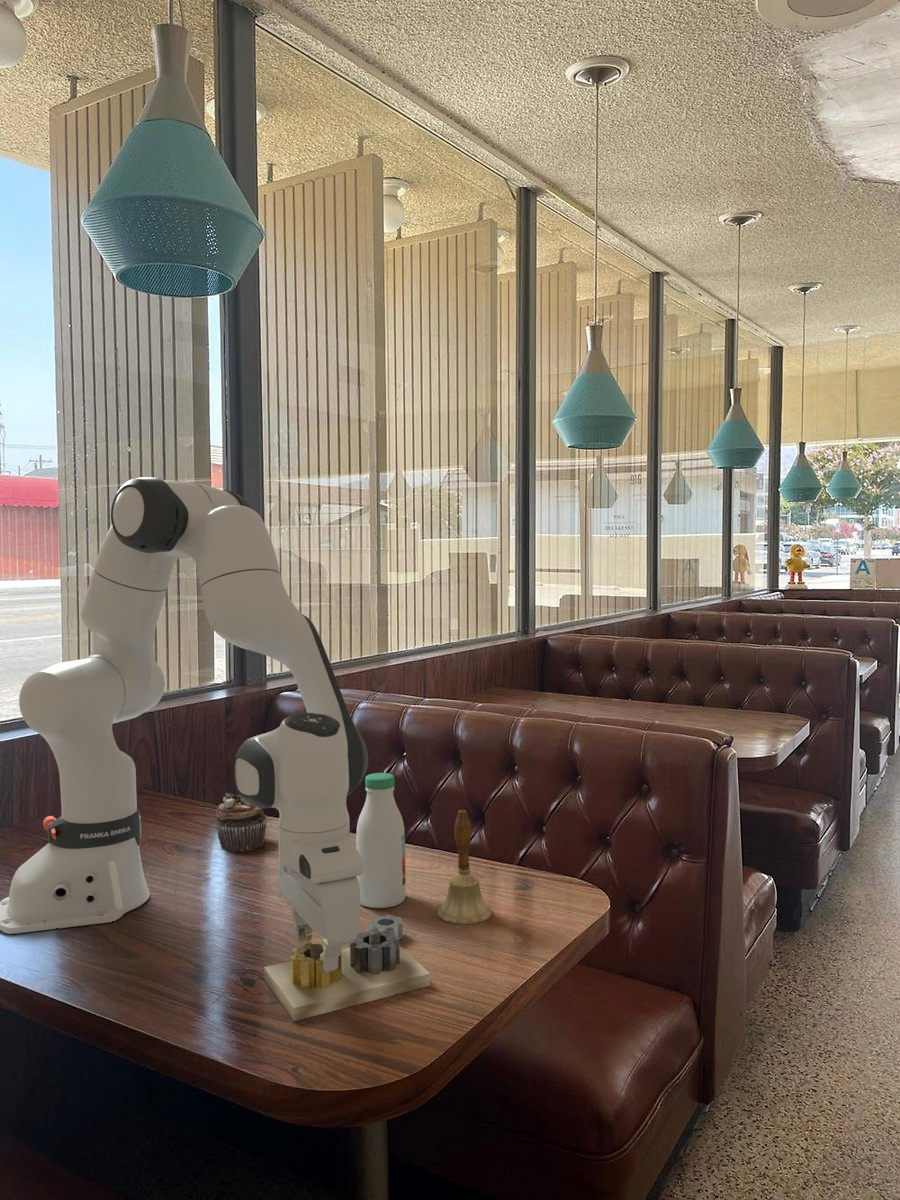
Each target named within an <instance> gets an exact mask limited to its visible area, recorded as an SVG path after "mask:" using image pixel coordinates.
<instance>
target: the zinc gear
mask: <svg viewBox="0 0 900 1200" xmlns="http://www.w3.org/2000/svg"><path fill="white" fill-rule="evenodd" d="M392 915H393V914H386V915H385V916H379V915H378V916H374V917H373V919H372V920H371V919H370V920H368V922H367V932H368V931H371V929H378V931H381V932H382V931H385V932H386V931H388V930H390V931H392V932H394V935H395V937H398V936H399V940H403V939H404V935H405V934H404V932H405V931H404V930H405V929H404V928H405V927H404V926H405V925H404V923H405V922H404V921H402V920H403V919H402V918H401V917H400V916H397V917H396V916H392Z"/></svg>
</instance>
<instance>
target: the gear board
mask: <svg viewBox="0 0 900 1200" xmlns="http://www.w3.org/2000/svg"><path fill="white" fill-rule="evenodd" d="M369 944H380V932H378V931H372V932H370V933H369ZM310 948H311V958H319V957H320V953H322V945H320V944H318V943H316V944H314V943H313V945H311V947H310ZM341 958H342V973H341V980H340V981H339V982H333V983H330V984H329V987H327V988H323V989H321V988H320V987H316V986H315V987H314V988H312V987H311V988H310V989H309V990H308V989H302V988H301V985H299V984H295V985H293V984H292V983H291V969H290V961H285V962H281V963H275V964H272V965H268V966H264V967H263V978H264V981H265V982H266V984H267V985H268V986H269V988H270V990H271V991H272V992H273V994H274V995H275V997H276V998H277V1000H278V1001H279V1002H280V1004H281V1005H282V1006H283V1008H284V1009H285V1011H286V1013H287V1014H288V1015H289V1017H290V1018H291V1020H292V1021H293V1022H297V1021H300V1020H304V1019H308V1018H312V1017H315V1016H316V1017H317V1016H321V1015H323V1014H327V1013H331V1012H334V1011H339V1010H343V1009H347V1008H349V1007H355V1006H358V1005H361V1004H365V1003H369V1002H373V1001H376V1000H380V999H385V998H388V997H392V996H396V995H395V994H397V995H400V994H404V993H408V992H411V991H416V990H419V988H420V989H423V988H427V987H430V986H431V972H429V971H428V970H427V969H426V968H425V967H424V966H423V965H422V964H421V963H419V961H417V960H416V959H414V957H413V956H411V955H410V954H409V953H408V952H407V951H406V950H405V949H404V948H403V947H401V946H400V964H396V969H395V970H393V971H391V972H390V971H382V972H379V975H371V973H368V972H362V973H358V972H356V971H355V966H350V947H345V948H341Z"/></svg>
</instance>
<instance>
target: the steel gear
mask: <svg viewBox="0 0 900 1200" xmlns="http://www.w3.org/2000/svg"><path fill="white" fill-rule="evenodd" d="M372 931H378V929H371V931H368V930H367V931H364V932H362V931H359V934H358V936H357V938H356V940H355V942H353V943H350V944H349V948H350V966H355V971H356V972H358V973H362V972H368V973H371V975H379V972H382V971H390V972H391V971H393V970H395V969H396V964H400V947H401V945H400V939H399V936H398V937H395V935H394V932H392V931H390V930H388V931H386V932H385V931H382V932H381V931H378V932H380V944H369V933H370V932H372Z"/></svg>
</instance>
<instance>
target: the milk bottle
mask: <svg viewBox="0 0 900 1200" xmlns="http://www.w3.org/2000/svg"><path fill="white" fill-rule="evenodd" d="M395 781H396V780H395V775H393V774H392V773H388V772H375V773H370V774H368V775H366V776H365V780H364V783H365V791H366V797H365V802H364V805H363V807H362V810H361V812H360V814H359V817H358V820H357V825H356V839H355V841H356V842H355V844H356V845H355V847H356V849H357V851H358V852H359V854H360V856H361V857H362V860H363V874H362V875H358V876H357V878H358V881H359V885H360V906H363V907H366V908H371V909H372V908H373V909H387V908H393V907H396V906H399V905H400V904H402V903H403V902H404V901H405V898H406V886H407V885H406V839H405V838H406V837H405V836H406V835H405V826H404V820H403V816H402V815H401V812H400V810H399V808H398V805H397V803H396V800H395V797H394V790H395Z"/></svg>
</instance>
